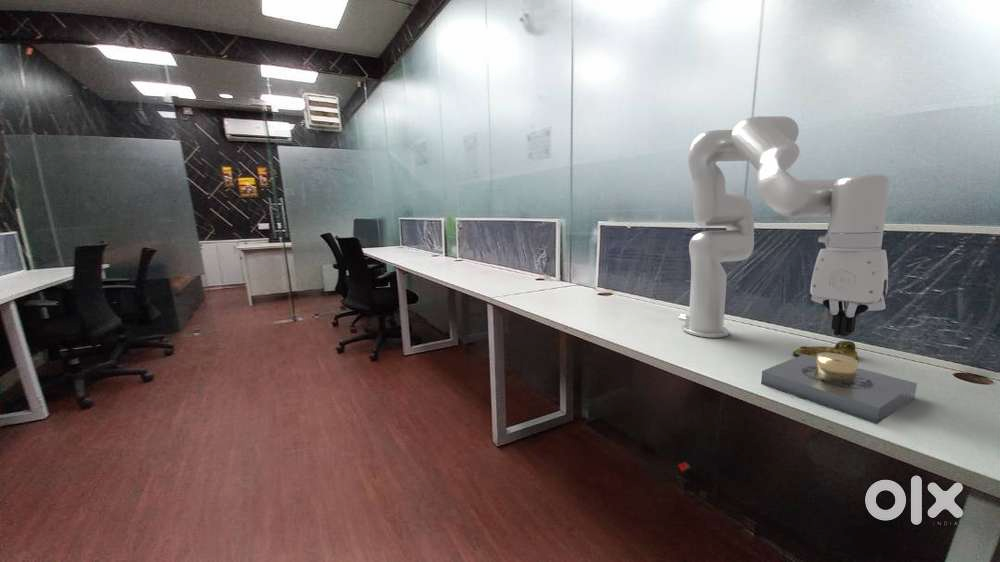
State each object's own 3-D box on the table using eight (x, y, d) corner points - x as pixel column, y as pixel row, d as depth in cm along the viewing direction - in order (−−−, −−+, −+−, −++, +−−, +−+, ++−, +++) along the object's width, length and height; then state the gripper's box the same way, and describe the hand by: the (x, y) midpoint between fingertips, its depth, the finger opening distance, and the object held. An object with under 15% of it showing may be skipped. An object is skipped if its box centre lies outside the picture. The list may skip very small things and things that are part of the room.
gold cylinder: (807, 386, 74) (811, 356, 73) (821, 380, 77) (825, 350, 76) (845, 399, 69) (849, 366, 68) (858, 391, 72) (863, 359, 71)
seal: (811, 369, 86) (872, 366, 86) (814, 352, 85) (876, 349, 85) (780, 351, 95) (836, 349, 95) (783, 335, 94) (839, 332, 94)
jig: (761, 383, 77) (762, 370, 76) (802, 366, 85) (804, 354, 84) (877, 424, 61) (879, 408, 60) (914, 397, 69) (917, 383, 68)
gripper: (796, 242, 73) (788, 328, 76) (902, 244, 60) (888, 349, 62) (814, 240, 76) (805, 323, 79) (918, 242, 63) (904, 341, 66)
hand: (842, 334), depth 71 cm, fingers closed
